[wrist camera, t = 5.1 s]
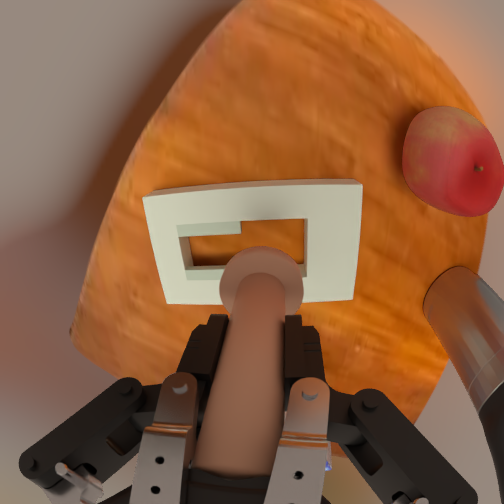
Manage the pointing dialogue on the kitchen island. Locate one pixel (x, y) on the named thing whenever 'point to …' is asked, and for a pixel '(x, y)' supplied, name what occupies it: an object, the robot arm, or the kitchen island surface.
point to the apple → (452, 162)
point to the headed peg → (250, 366)
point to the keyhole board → (257, 208)
